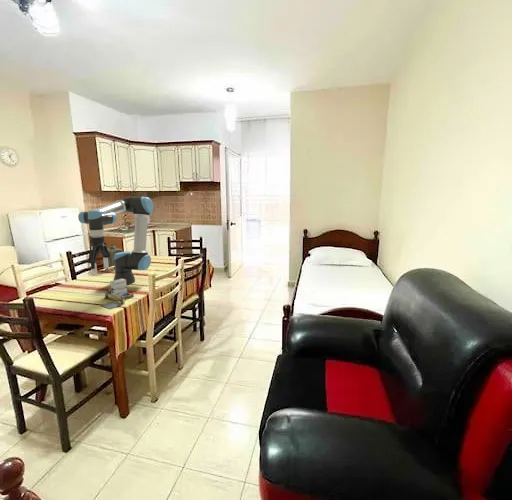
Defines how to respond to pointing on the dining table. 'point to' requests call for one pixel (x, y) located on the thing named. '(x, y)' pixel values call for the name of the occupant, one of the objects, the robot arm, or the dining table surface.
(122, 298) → the brass lever
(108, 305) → the charcoal mat
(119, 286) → the ink box
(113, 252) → the tabletop clock
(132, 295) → the walnut cradle
